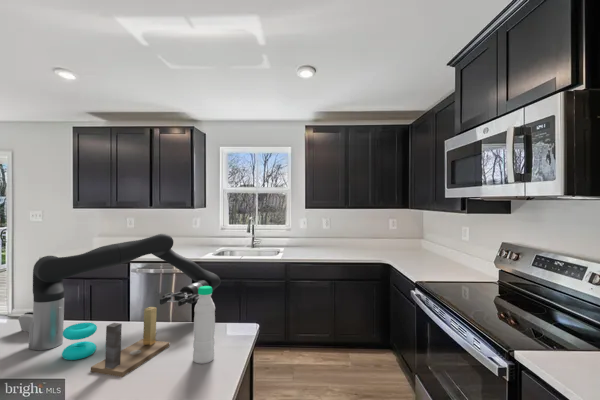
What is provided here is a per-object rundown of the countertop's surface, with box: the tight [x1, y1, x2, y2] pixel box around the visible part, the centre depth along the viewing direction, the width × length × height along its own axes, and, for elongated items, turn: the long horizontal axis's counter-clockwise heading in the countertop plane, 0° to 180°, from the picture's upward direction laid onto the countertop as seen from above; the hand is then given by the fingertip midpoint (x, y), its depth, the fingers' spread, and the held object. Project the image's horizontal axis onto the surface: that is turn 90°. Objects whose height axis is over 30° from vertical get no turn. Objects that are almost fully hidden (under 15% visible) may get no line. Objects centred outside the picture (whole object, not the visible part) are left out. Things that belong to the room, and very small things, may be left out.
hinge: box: [17, 310, 33, 333], centre depth 133 cm, size 17×5×10 cm, turn 72°
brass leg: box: [142, 306, 158, 346], centre depth 119 cm, size 3×3×13 cm
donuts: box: [61, 322, 98, 361], centre depth 113 cm, size 10×10×10 cm
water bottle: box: [192, 286, 216, 365], centre depth 111 cm, size 7×7×25 cm
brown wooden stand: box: [90, 322, 170, 378], centre depth 111 cm, size 23×12×14 cm, turn 166°
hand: (169, 302), depth 130 cm, fingers open, 8 cm apart
